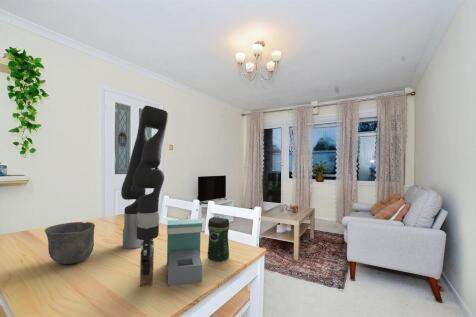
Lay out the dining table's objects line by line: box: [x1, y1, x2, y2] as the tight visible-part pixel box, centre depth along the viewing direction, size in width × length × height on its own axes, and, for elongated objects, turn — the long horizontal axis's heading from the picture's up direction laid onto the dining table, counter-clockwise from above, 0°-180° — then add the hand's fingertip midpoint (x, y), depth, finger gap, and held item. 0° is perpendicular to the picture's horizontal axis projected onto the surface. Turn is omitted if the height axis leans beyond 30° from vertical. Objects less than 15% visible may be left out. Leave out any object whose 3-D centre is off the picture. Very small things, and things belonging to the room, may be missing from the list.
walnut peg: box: [139, 246, 155, 288], centre depth 83 cm, size 4×4×12 cm
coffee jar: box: [207, 216, 230, 263], centre depth 105 cm, size 10×8×19 cm
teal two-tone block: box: [166, 218, 203, 266], centre depth 97 cm, size 14×8×18 cm, turn 105°
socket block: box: [167, 249, 203, 286], centre depth 90 cm, size 12×16×6 cm
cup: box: [44, 221, 96, 265], centre depth 99 cm, size 18×18×15 cm
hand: (146, 271), depth 83 cm, fingers closed on walnut peg, 4 cm apart
